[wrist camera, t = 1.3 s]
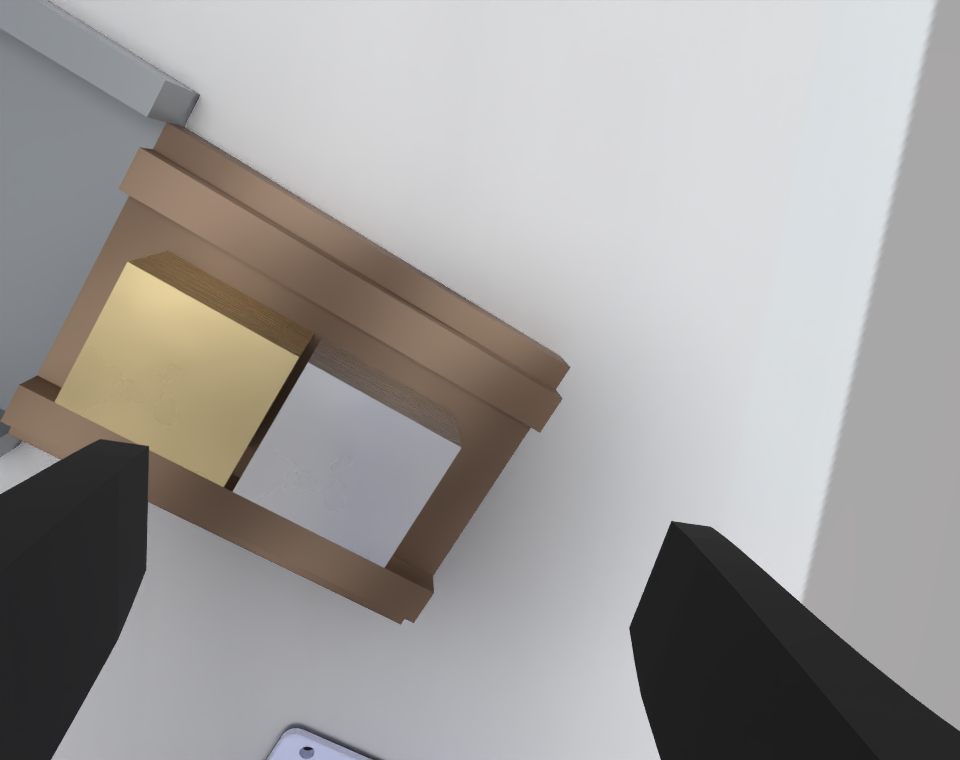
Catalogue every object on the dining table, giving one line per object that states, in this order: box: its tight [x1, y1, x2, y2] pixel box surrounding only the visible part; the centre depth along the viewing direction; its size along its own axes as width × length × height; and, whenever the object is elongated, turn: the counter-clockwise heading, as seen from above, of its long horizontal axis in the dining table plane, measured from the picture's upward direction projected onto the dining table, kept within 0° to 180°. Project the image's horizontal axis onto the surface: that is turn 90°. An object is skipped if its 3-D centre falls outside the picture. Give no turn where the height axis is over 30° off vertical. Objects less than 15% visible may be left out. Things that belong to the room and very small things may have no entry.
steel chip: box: [233, 338, 462, 568], centre depth 20 cm, size 4×4×3 cm
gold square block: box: [55, 251, 314, 487], centre depth 19 cm, size 4×4×3 cm
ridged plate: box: [1, 123, 570, 624], centre depth 22 cm, size 13×10×2 cm
